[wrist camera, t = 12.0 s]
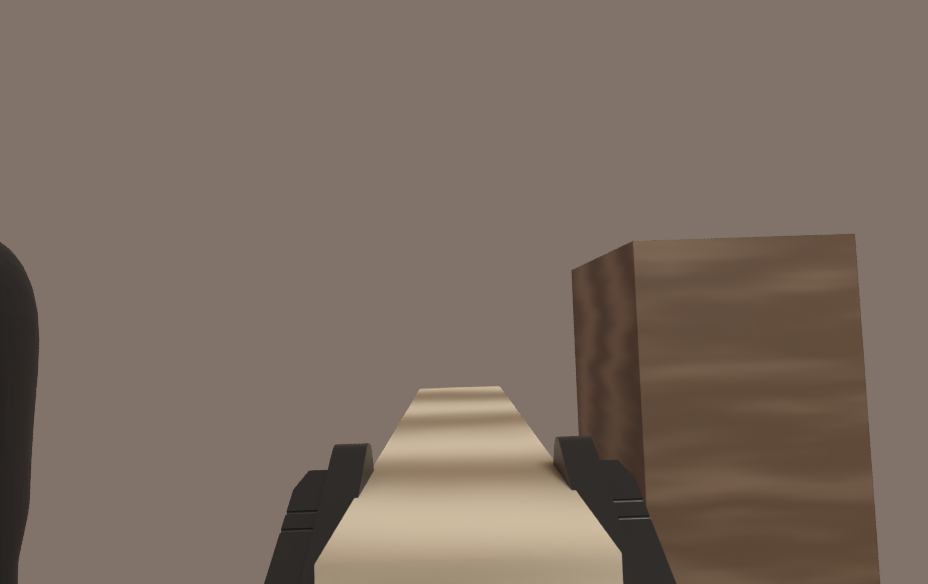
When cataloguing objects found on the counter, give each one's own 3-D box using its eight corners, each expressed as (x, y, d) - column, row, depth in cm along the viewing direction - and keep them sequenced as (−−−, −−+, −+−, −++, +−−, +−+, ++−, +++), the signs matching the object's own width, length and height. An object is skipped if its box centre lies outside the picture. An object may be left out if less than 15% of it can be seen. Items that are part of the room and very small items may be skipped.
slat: (632, 794, 7) (621, 553, 8) (318, 807, 7) (314, 565, 8) (501, 446, 29) (499, 386, 30) (421, 449, 29) (420, 388, 30)
